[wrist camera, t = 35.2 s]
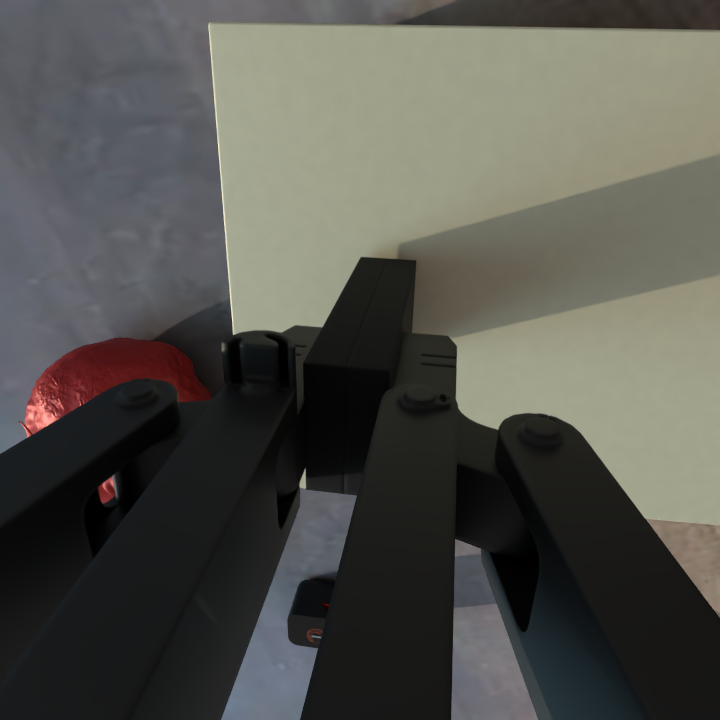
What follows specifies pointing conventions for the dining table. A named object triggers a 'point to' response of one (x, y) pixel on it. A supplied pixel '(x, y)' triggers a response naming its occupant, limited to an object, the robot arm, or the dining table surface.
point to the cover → (499, 217)
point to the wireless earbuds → (309, 612)
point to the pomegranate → (107, 380)
